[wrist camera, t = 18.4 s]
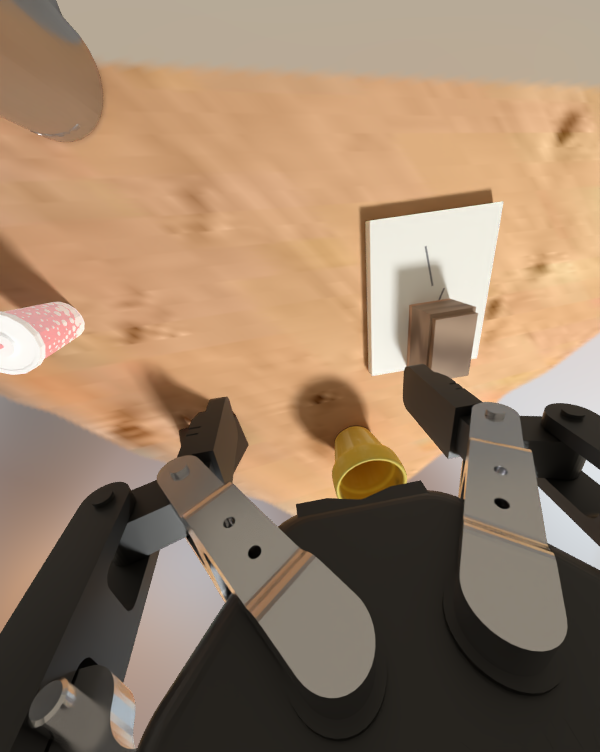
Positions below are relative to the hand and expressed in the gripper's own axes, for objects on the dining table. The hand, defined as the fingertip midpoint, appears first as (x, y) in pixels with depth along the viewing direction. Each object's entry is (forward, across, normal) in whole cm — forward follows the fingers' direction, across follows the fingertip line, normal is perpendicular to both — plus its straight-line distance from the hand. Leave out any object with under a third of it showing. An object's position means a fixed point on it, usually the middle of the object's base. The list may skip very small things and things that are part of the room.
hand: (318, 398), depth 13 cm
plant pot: (+26, -8, +26) cm, 38 cm away
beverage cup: (+26, +27, -1) cm, 38 cm away
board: (+26, -19, +3) cm, 32 cm away
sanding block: (+24, -19, +8) cm, 32 cm away
